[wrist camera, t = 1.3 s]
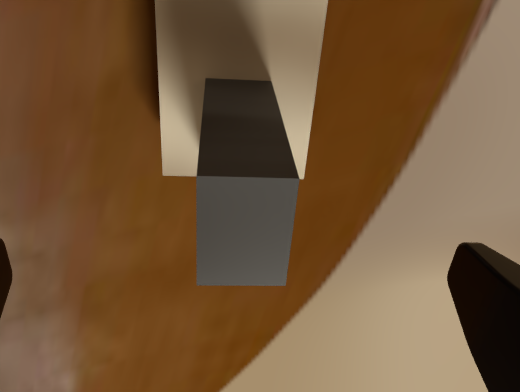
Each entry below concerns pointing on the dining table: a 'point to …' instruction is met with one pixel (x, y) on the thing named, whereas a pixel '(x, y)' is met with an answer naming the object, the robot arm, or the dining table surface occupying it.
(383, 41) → the dining table surface
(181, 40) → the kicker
